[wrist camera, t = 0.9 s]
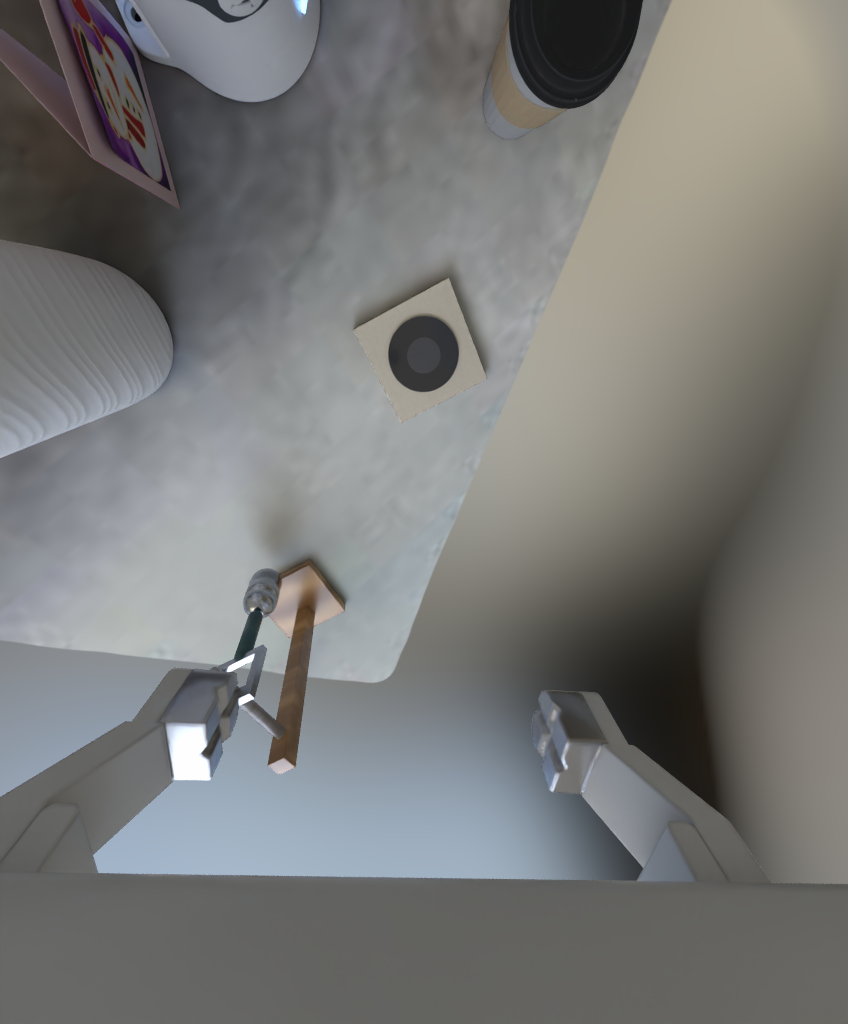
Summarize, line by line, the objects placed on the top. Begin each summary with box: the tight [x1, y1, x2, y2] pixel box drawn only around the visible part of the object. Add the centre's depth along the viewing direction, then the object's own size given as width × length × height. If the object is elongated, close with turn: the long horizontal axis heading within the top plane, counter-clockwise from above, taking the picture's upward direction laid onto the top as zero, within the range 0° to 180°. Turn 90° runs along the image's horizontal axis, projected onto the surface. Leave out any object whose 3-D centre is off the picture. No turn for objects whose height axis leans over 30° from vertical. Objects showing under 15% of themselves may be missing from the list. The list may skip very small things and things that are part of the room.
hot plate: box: [353, 278, 487, 423], centre depth 48 cm, size 12×12×2 cm
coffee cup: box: [483, 0, 643, 139], centre depth 33 cm, size 9×9×15 cm
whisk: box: [217, 568, 282, 706], centre depth 47 cm, size 4×6×21 cm
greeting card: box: [0, 0, 180, 209], centre depth 30 cm, size 11×7×15 cm, turn 3°
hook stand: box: [210, 560, 345, 774], centre depth 50 cm, size 15×10×25 cm, turn 25°
